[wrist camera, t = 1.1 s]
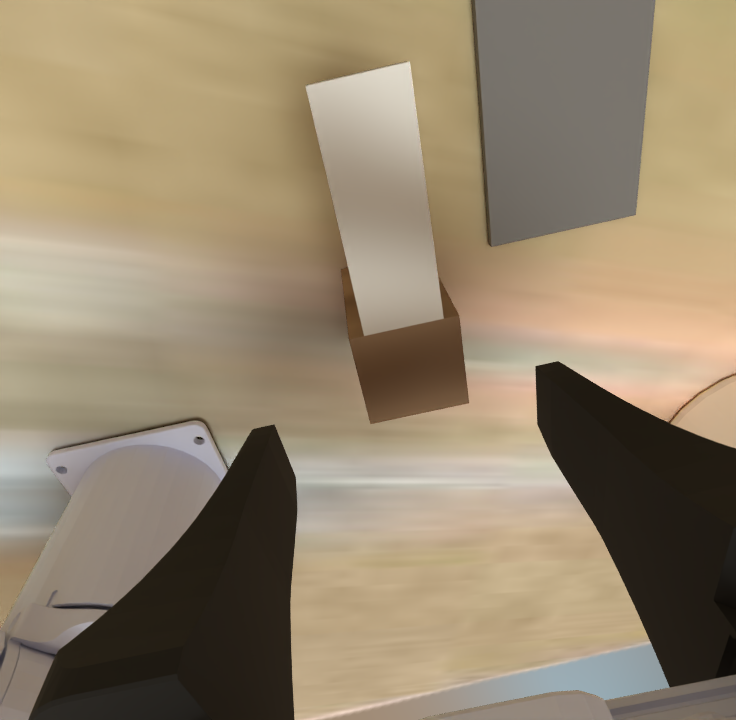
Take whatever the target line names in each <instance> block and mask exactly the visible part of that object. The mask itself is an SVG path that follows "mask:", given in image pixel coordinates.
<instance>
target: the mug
mask: <svg viewBox="0 0 736 720" xmlns="http://www.w3.org/2000/svg"><path fill="white" fill-rule="evenodd" d="M670 424H672V425H675V426H677V427H680V428H682V429H684V430H687V431H689V432H692V433H694V434H697V435H699V436H702V437H704V438H707V439H710V440H712V441H715V442H718V443H721V444H724V445H727V446H730V447H733V448H736V375H734V376H731V377H729V378H726V379H724V380H722V381H720V382H719V383H717V384H715V385H714V386H712V387H710V388H708V389H707V390H705V391H703V392H702V393H700V394H699V395H698V396H697V397H695V398H694V399H693V400H692V401H691V402H689V403H688V404H687V405H686V406H685V407H684V408H682V409H681V410H680V411H679V413H678V414H677V415H676V416H675V418H674V419H673V420H672V421H671V422H670Z"/></svg>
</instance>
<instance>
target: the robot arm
mask: <svg viewBox="0 0 736 720" xmlns="http://www.w3.org/2000/svg"><path fill="white" fill-rule="evenodd" d="M536 395H537V424H538V427H539V429H540V431H541V433H542V436H543V438H544V440H545V442H546V445H547V447H548V449H549V451H550V453H551V455H552V457H553V459H554V460H555V462H556V464H557V465H558V467H559V469H560V470H561V472H562V473H563V475H564V477H565V478H566V480H567V482H568V483H569V485H570V486H571V488H572V489H573V491H574V493H575V494H576V496H577V497H578V499H579V501H580V502H581V504H582V505H583V507H584V509H585V510H586V512H587V513H588V515H589V517H590V518H591V520H592V521H593V523H594V525H595V526H596V528H597V530H598V532H599V533H600V535H601V537H602V539H603V541H604V543H605V545H606V547H607V549H608V551H609V553H610V555H611V557H612V559H613V561H614V563H615V565H616V567H617V569H618V571H619V573H620V576H621V578H622V580H623V582H624V584H625V586H626V588H627V591H628V593H629V595H630V597H631V599H632V601H633V603H634V606H635V608H636V610H637V612H638V614H639V617H640V619H641V621H642V623H643V626H644V628H645V630H646V633H647V635H648V637H649V639H650V642H651V644H652V646H653V648H654V651H655V653H656V655H657V658H658V660H659V663H660V665H661V667H662V670H663V672H664V674H665V677H666V679H667V682H668V684H669V686H670V688H665V689H660V690H655V691H650V692H645V693H640V694H635V695H630V696H625V697H620V698H615V699H610V700H603V699H602V698H600V697H598V696H596V695H593V694H589V693H586V692H582V691H579V690H575V691H574V690H573V691H561V692H560V691H559V692H550V693H545V694H540V695H535V696H530V697H524V698H520V699H515V700H509V701H504V702H499V703H494V704H489V705H484V706H479V707H474V708H469V709H464V710H459V711H454V712H449V713H444V714H439V715H434V716H429V717H426V718H423V719H420V720H736V448H733V447H730V446H727V445H724V444H721V443H718V442H715V441H712V440H710V439H707V438H704V437H702V436H699V435H697V434H694V433H692V432H689V431H687V430H684V429H682V428H680V427H677V426H675V425H672V424H670V423H668V422H666V421H664V420H661V419H659V418H657V417H655V416H653V415H651V414H649V413H647V412H645V411H643V410H641V409H639V408H637V407H635V406H633V405H632V404H630V403H628V402H626V401H624V400H622V399H620V398H619V397H617V396H615V395H613V394H612V393H610V392H608V391H606V390H605V389H603V388H601V387H600V386H598V385H596V384H595V383H593V382H591V381H590V380H588V379H586V378H585V377H583V376H582V375H580V374H578V373H577V372H575V371H573V370H572V369H570V368H569V367H567V366H565V365H564V364H562V363H560V362H559V361H557V362H553V363H548V364H544V365H539V366H536ZM196 437H202V438H203V439H202V440H200V439H197V438H196ZM46 463H47V465H48V466H49V468H50V469H51V470H52V472H53V473H54V474H55V476H56V477H57V478H58V480H59V481H60V482H61V484H62V485H63V486H64V488H65V489H66V490H67V492H68V493H69V494H70V496H71V499H70V501H69V503H68V505H67V507H66V508H65V510H64V512H63V514H62V516H61V518H60V519H59V521H58V523H57V525H56V527H55V529H54V531H53V532H52V534H51V536H50V538H49V540H48V542H47V543H46V545H45V547H44V549H43V551H42V553H41V555H40V556H39V558H38V560H37V562H36V564H35V566H34V567H33V569H32V571H31V573H30V575H29V577H28V579H27V580H26V582H25V584H24V586H23V588H22V590H21V591H20V593H19V595H18V597H17V599H16V601H15V603H14V604H13V606H12V608H11V610H10V612H9V614H8V615H7V617H6V619H5V621H4V623H3V625H2V627H1V628H0V720H294V704H293V685H292V659H291V619H290V598H291V581H292V569H293V557H294V546H295V534H296V521H297V491H296V477H295V474H294V472H293V469H292V467H291V464H290V462H289V459H288V457H287V454H286V452H285V449H284V447H283V445H282V442H281V440H280V437H279V435H278V432H277V430H276V427H275V425H270V426H265V427H261V428H256V429H253V430H252V431H251V433H250V435H249V436H248V438H247V439H246V441H245V443H244V444H243V446H242V448H241V450H240V451H239V453H238V455H237V456H236V458H235V460H234V461H233V463H232V465H231V466H230V468H229V470H227V468H226V465H225V463H224V461H223V459H222V457H221V455H220V453H219V451H218V449H217V447H216V445H215V443H214V441H213V439H212V437H211V435H210V433H209V431H208V429H207V426H206V425H205V424H204V423H202V422H201V421H189V422H185V423H180V424H175V425H171V426H166V427H161V428H157V429H152V430H147V431H143V432H138V433H134V434H129V435H124V436H120V437H115V438H110V439H106V440H101V441H96V442H92V443H87V444H82V445H78V446H73V447H68V448H64V449H59V450H54V451H52V452H50V453H49V455H48V456H47V458H46ZM61 466H63V467H65V468H63V467H61Z"/></svg>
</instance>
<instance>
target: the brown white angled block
mask: <svg viewBox="0 0 736 720" xmlns="http://www.w3.org/2000/svg"><path fill="white" fill-rule="evenodd" d="M306 90H307V94H308V99H309V103H310V107H311V112H312V116H313V120H314V124H315V129H316V133H317V137H318V141H319V146H320V150H321V154H322V158H323V163H324V167H325V171H326V175H327V180H328V184H329V188H330V193H331V197H332V201H333V205H334V210H335V214H336V218H337V222H338V227H339V231H340V235H341V239H342V244H343V248H344V252H345V256H346V261H347V265H348V268H344V269H341V273H342V282H343V291H344V300H345V309H346V317H347V326H348V335H349V341H350V345H351V349H352V353H353V357H354V361H355V365H356V369H357V373H358V377H359V381H360V385H361V389H362V393H363V396H364V400H365V404H366V408H367V412H368V416H369V420H370V424H373V423H378V422H382V421H387V420H392V419H396V418H401V417H406V416H411V415H415V414H420V413H425V412H429V411H434V410H439V409H443V408H448V407H453V406H458V405H462V404H467V403H469V398H468V389H467V381H466V372H465V363H464V354H463V345H462V336H461V327H460V319H459V314H458V312H457V310H456V309H455V307H454V305H453V303H452V301H451V299H450V297H449V295H448V293H447V292H446V290H445V288H444V286H443V284H442V282H441V280H440V278H439V277H438V272H437V264H436V256H435V249H434V241H433V234H432V226H431V219H430V211H429V203H428V196H427V188H426V181H425V173H424V166H423V158H422V151H421V143H420V135H419V128H418V120H417V113H416V105H415V98H414V90H413V82H412V75H411V67H410V62H409V61H405V62H401V63H397V64H392V65H388V66H384V67H380V68H375V69H371V70H367V71H362V72H358V73H354V74H350V75H345V76H341V77H337V78H333V79H328V80H324V81H320V82H316V83H311V84H307V85H306Z"/></svg>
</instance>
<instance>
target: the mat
mask: <svg viewBox="0 0 736 720" xmlns="http://www.w3.org/2000/svg"><path fill="white" fill-rule="evenodd" d="M654 9H655V0H472V12H473V26H474V40H475V54H476V68H477V82H478V97H479V111H480V125H481V139H482V153H483V167H484V182H485V196H486V210H487V224H488V238H489V244H490V246H491V247H493V246H498V245H502V244H507V243H511V242H516V241H520V240H525V239H529V238H534V237H539V236H543V235H548V234H552V233H557V232H561V231H566V230H570V229H575V228H579V227H584V226H588V225H593V224H597V223H602V222H606V221H611V220H615V219H620V218H624V217H629V216H633V215H636V207H637V196H638V185H639V174H640V163H641V152H642V141H643V130H644V119H645V108H646V97H647V86H648V75H649V64H650V53H651V42H652V31H653V20H654Z"/></svg>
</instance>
